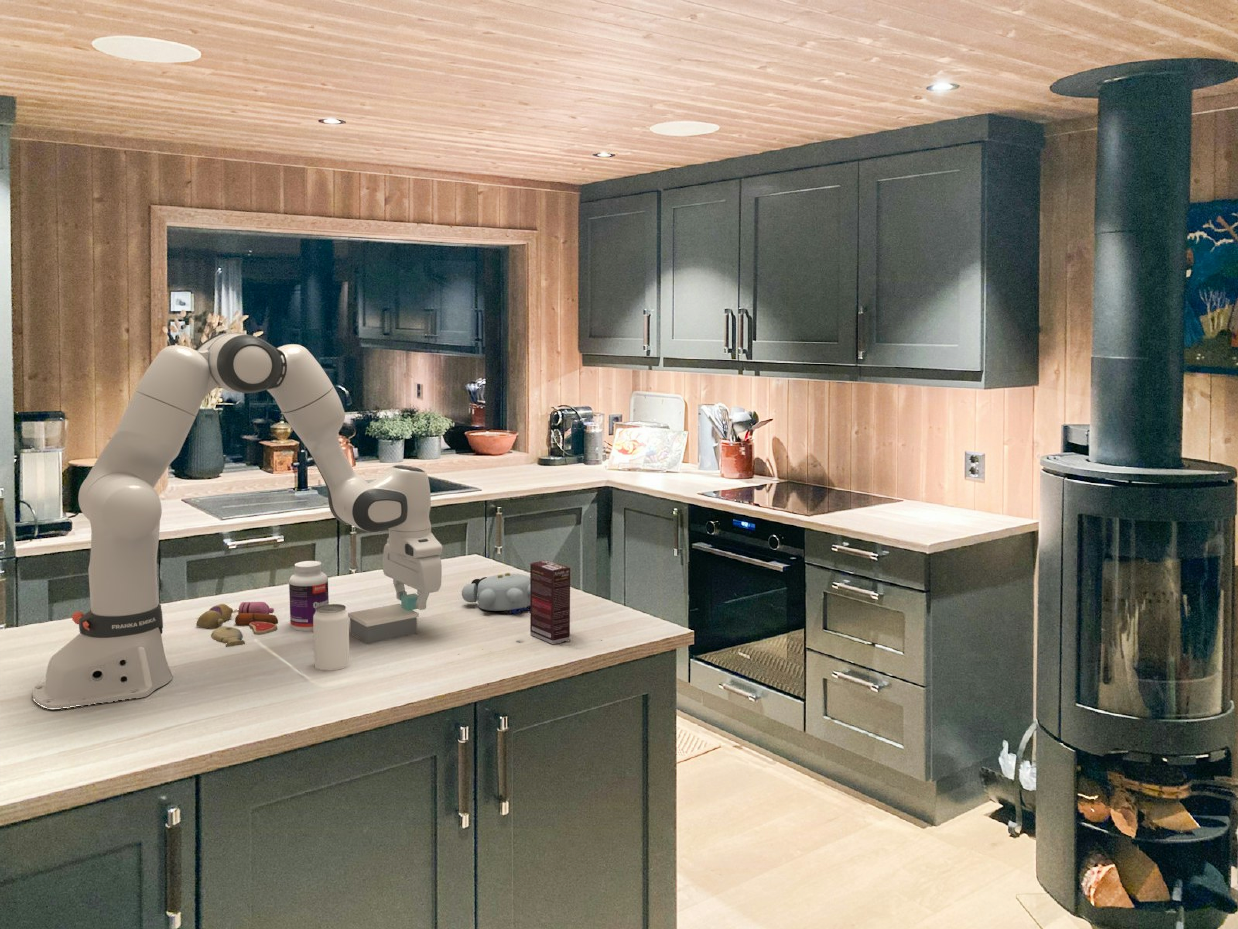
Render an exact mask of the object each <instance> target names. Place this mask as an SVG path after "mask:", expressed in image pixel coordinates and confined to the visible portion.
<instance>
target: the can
mask: <svg viewBox="0 0 1238 929" xmlns="http://www.w3.org/2000/svg"><path fill="white" fill-rule="evenodd" d="M346 608H347V607H346V606H345V605H344V604H340V603H339V604H338V603H329V604H326V605H321V606H318V607H316V608H315V610H316V612H315V614H314V616H313V630H312V631H313V653H314V654H313V656H314V657H313V658H314V660H313V661H314V667H315V669H316V670H320V671H337V670H341V669H345V668H346V667H349V666H350V630H349V627H350V625H349V623H350V622H349V617H348V613H349V612H348V611H347V610H346Z"/></svg>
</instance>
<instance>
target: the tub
mask: <svg viewBox="0 0 1238 929" xmlns="http://www.w3.org/2000/svg"><path fill="white" fill-rule="evenodd" d="M349 619H350V620H349V621H350V622H349V623H350V625H349V627H350V630H349V633H350V635H351V636H353V637H355V638H356V639H357V640H358V639H359V640H360V641H362V642H363V643H365V644H367V645H370V644H375V643H379V642H384V641H388V640H393V639H400V638H403V637H409V636H412V635H418V622H417V621H418V617H415V618H410V619H405V620H400V621H394V622H389V623H384V624H379V625H374V626H368V627H366V626H364V625H362V624H360V623H359V622H357V621H355V620H353V619H351V618H350V617H349Z"/></svg>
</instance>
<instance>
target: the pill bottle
mask: <svg viewBox="0 0 1238 929" xmlns="http://www.w3.org/2000/svg"><path fill="white" fill-rule="evenodd" d="M294 572H295V573H294V574H292V575H291V576H290V577H289V579H288V589H289V591H288V592H289V593H288V594H289V618H290V619H289V622H290V623H289V625H290V628H291V629H292V630H295V631H299V632H300V631H302V632H307V631H308V632H309V631H311V632H312V631H314V630H313V616H314V614H315V612H316V610H315V608H316V607H318V606H321V605H326V604H330V602H329V600H330V599H329V578H328V575H327V574H325V572H322V562H321V561H316V560H304V561H299V562H296V563H294Z"/></svg>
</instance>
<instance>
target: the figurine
mask: <svg viewBox="0 0 1238 929" xmlns="http://www.w3.org/2000/svg"><path fill="white" fill-rule="evenodd" d="M461 596H462V599H463V601H465V602H467V603H478V607H479V608H480V609H481V610H483V611H484V610H485V611H492V612H498V611H509V614H512V613H513V614H514V615H518V614H519V613H520V612H523V611H530V575H529V576H528V575H526V574H522V573H521V574H520V573H510V572H506V573H503V574H496V575H492V576H487V577H486V576H484V577H481V578H475V579H473V580H472V581H471V583H468V584H466V585H464V586H463V588H462V589H461ZM513 614H512V615H513Z"/></svg>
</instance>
